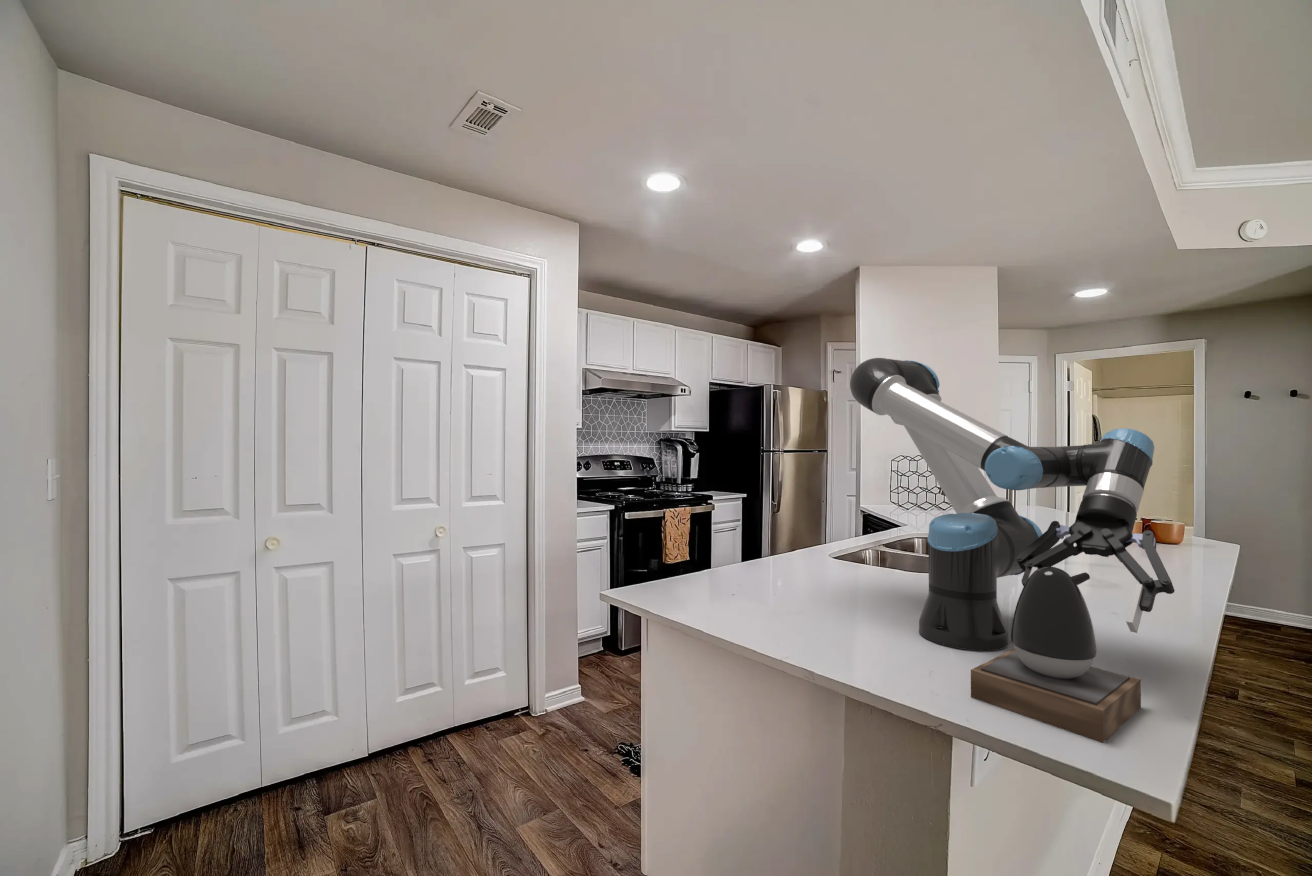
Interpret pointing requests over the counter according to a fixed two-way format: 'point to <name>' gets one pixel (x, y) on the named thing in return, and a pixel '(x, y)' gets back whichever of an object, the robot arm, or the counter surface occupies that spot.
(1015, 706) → the walnut riser
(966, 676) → the counter surface
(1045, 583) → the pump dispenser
